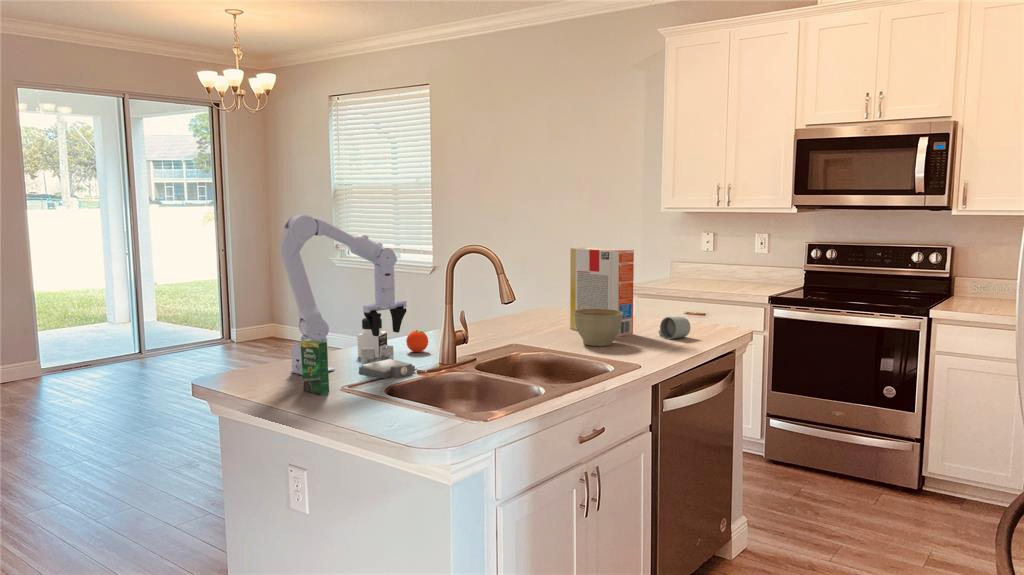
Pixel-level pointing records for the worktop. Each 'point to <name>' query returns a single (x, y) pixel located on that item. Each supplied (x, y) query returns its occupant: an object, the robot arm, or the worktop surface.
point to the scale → (387, 369)
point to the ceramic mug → (674, 327)
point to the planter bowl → (598, 325)
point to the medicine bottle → (371, 338)
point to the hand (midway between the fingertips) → (386, 334)
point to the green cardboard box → (315, 366)
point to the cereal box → (602, 283)
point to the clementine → (417, 341)
